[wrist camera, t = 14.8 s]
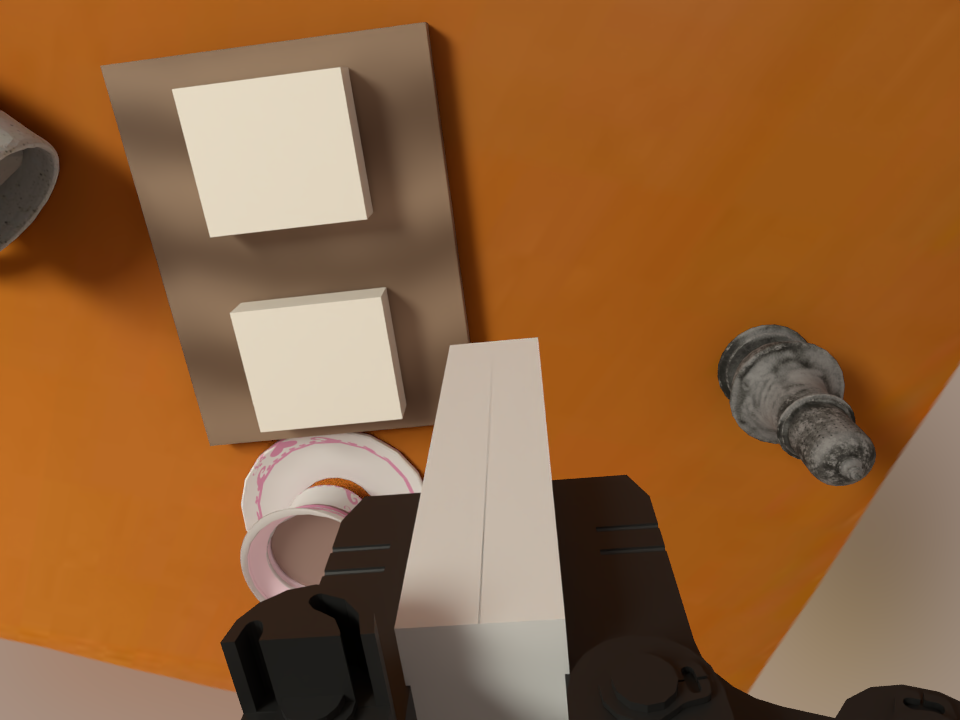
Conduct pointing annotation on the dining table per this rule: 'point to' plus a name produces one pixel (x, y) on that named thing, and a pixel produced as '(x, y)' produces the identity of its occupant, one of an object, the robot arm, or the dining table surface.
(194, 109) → the tile
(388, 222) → the walnut board
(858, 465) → the grey stone finial
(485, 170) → the dining table surface
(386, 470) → the teacup
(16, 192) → the ceramic mug
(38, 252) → the dining table surface
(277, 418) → the tile
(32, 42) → the dining table surface
